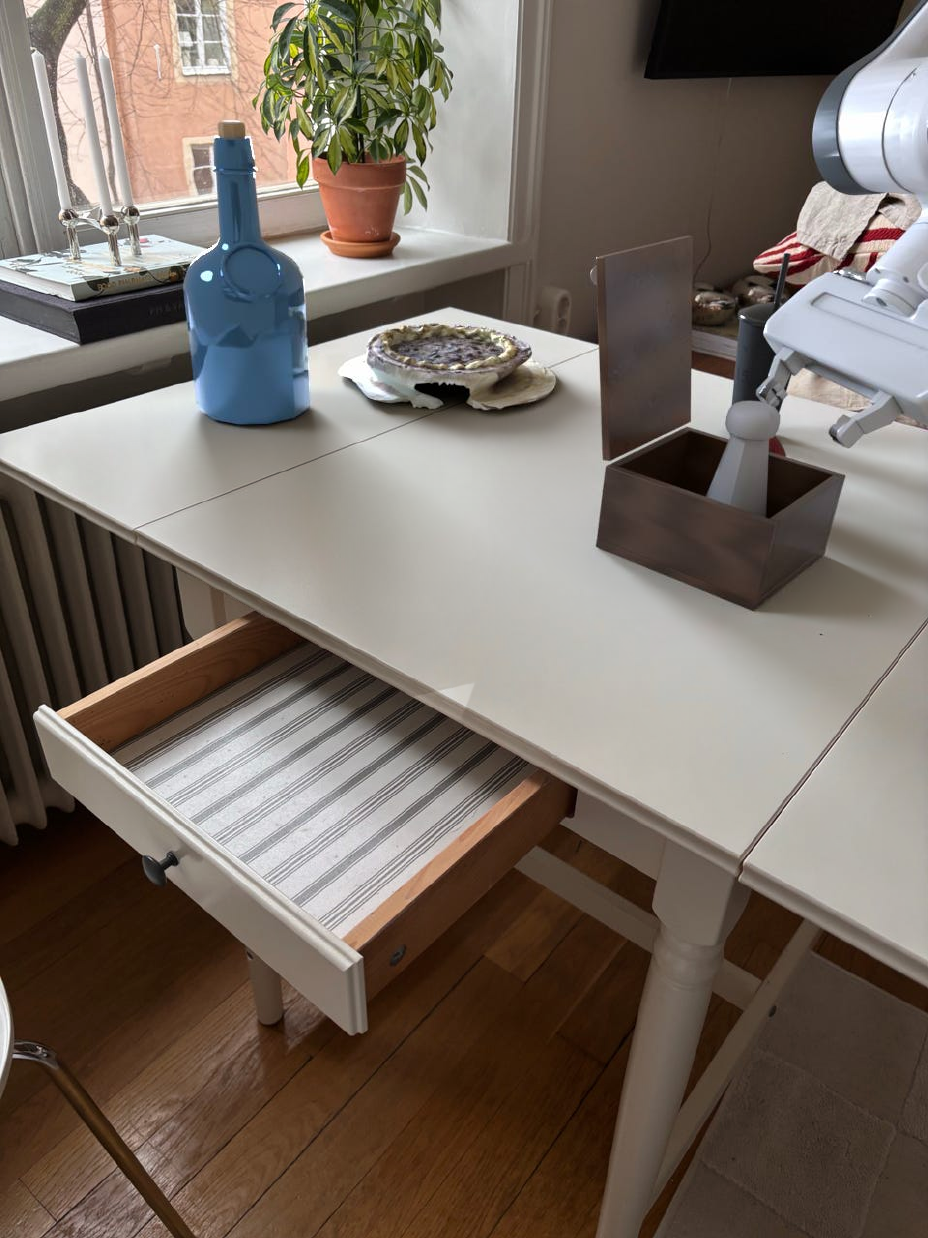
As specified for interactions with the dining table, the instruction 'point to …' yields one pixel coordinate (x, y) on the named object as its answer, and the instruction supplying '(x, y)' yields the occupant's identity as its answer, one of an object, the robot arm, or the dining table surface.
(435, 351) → the pie
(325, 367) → the dining table surface
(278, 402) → the wine bottle
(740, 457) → the salt shaker
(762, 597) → the chest
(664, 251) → the chest lid
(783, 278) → the drinking cup
